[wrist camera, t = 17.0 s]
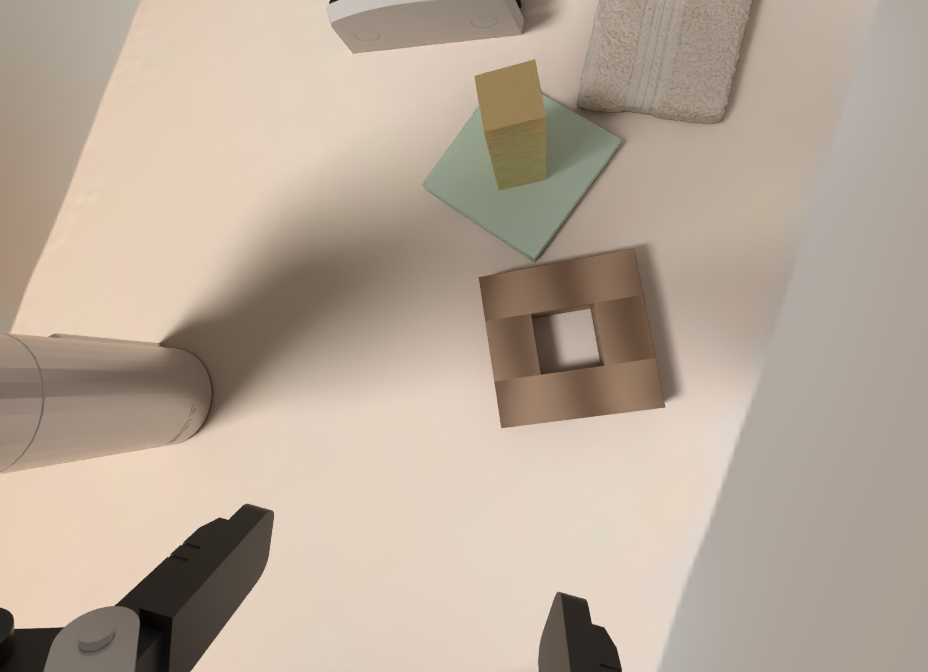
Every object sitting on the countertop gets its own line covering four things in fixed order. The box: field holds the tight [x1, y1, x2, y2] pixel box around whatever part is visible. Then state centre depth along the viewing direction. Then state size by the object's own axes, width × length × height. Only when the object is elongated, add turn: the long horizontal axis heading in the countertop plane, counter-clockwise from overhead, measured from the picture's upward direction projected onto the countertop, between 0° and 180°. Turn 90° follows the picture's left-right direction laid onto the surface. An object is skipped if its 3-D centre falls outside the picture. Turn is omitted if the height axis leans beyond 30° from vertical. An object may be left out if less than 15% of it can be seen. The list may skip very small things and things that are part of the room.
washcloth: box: [577, 0, 753, 124], centre depth 36 cm, size 12×18×3 cm, turn 166°
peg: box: [475, 60, 546, 191], centre depth 33 cm, size 4×4×9 cm
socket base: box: [479, 249, 665, 428], centre depth 35 cm, size 12×12×2 cm
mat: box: [422, 94, 622, 262], centre depth 38 cm, size 12×12×1 cm
